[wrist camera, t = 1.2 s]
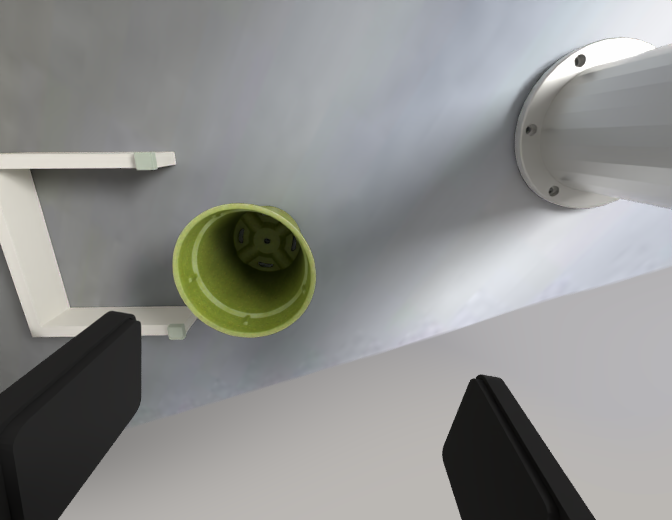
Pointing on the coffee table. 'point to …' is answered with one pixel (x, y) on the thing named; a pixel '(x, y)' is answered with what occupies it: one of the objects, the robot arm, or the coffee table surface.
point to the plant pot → (244, 269)
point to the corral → (38, 255)
